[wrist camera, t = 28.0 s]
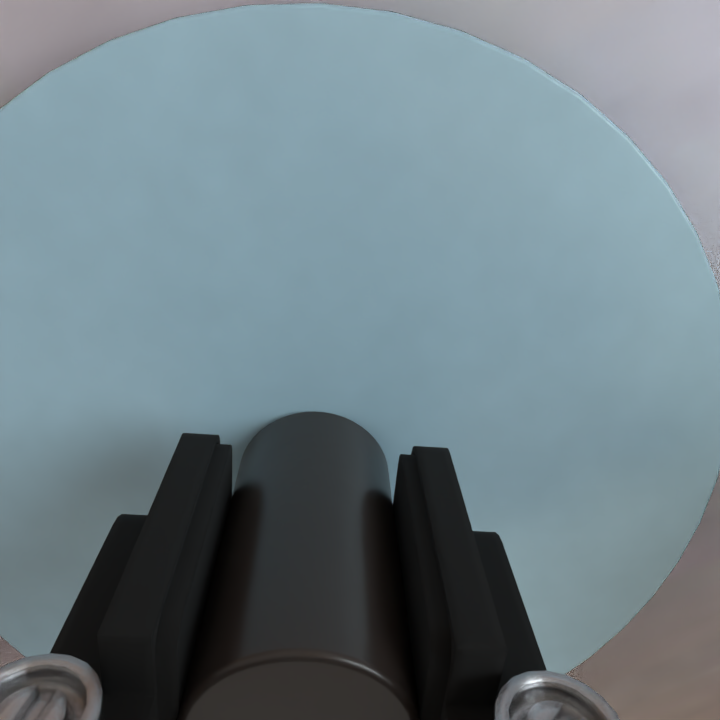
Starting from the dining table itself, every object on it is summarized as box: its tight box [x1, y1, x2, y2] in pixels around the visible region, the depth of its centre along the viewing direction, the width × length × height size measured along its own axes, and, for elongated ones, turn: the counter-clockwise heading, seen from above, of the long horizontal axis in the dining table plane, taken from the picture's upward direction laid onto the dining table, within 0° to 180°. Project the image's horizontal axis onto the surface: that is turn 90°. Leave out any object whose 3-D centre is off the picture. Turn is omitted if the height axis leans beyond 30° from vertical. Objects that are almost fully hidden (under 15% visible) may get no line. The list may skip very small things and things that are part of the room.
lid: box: [0, 3, 720, 720], centre depth 10 cm, size 15×15×6 cm
